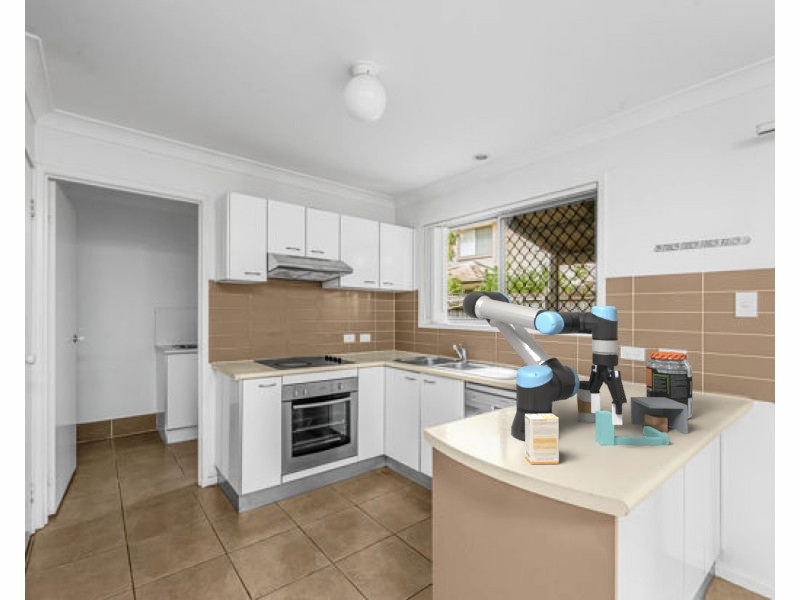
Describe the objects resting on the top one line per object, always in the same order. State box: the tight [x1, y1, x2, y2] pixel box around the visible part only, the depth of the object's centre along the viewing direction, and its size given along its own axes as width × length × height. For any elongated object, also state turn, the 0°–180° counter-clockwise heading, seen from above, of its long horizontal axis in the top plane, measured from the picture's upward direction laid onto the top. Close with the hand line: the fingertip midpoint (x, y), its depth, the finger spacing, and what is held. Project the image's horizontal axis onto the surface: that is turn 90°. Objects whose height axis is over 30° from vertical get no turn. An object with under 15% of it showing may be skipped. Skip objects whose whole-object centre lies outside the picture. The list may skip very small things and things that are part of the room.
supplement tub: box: [645, 351, 694, 419], centre depth 160 cm, size 16×16×26 cm
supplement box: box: [524, 413, 560, 465], centre depth 110 cm, size 8×5×13 cm, turn 92°
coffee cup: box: [576, 380, 600, 424], centre depth 151 cm, size 8×8×15 cm
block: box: [644, 414, 668, 433], centre depth 140 cm, size 5×5×5 cm
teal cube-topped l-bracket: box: [595, 410, 670, 446], centre depth 129 cm, size 22×11×10 cm, turn 89°
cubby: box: [630, 396, 689, 435], centre depth 142 cm, size 13×12×10 cm
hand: (605, 418), depth 125 cm, fingers open, 13 cm apart
